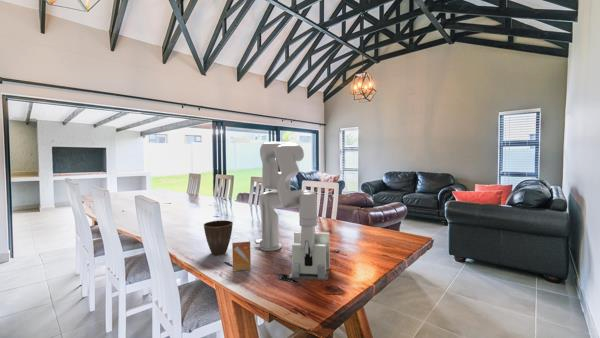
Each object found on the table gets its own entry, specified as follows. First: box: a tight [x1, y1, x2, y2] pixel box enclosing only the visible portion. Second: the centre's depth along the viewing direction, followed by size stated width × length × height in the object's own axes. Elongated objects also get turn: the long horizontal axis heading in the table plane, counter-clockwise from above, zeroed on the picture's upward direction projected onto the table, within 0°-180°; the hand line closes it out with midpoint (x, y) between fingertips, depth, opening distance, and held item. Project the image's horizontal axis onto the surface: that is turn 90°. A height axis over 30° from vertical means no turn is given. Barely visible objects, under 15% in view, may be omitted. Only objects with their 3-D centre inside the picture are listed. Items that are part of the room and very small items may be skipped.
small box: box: [231, 237, 252, 272], centre depth 129 cm, size 8×6×13 cm
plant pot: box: [203, 220, 233, 256], centre depth 150 cm, size 15×15×16 cm
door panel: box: [291, 242, 327, 275], centre depth 120 cm, size 14×2×12 cm, turn 80°
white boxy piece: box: [288, 231, 331, 282], centre depth 122 cm, size 16×14×16 cm
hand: (309, 263), depth 120 cm, fingers closed on door panel, 2 cm apart
